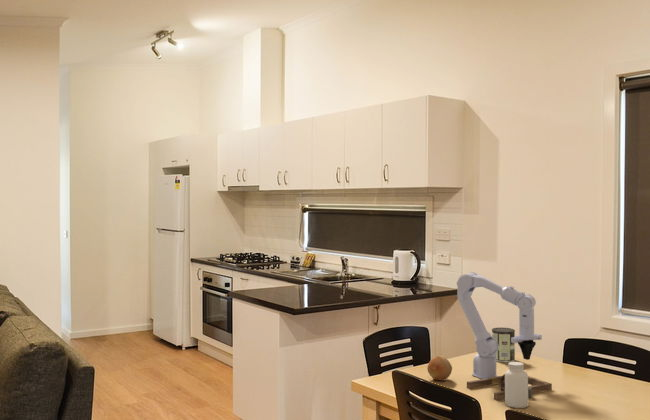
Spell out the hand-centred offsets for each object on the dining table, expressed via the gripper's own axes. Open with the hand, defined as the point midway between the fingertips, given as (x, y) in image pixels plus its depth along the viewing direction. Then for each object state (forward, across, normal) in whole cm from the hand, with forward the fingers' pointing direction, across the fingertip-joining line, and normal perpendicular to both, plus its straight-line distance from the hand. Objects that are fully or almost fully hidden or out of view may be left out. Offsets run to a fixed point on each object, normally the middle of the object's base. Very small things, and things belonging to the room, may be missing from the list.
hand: (526, 359), depth 246 cm
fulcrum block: (+10, -12, -12) cm, 20 cm away
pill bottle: (+10, -22, -18) cm, 31 cm away
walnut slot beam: (+10, -12, -2) cm, 16 cm away
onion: (+10, -28, +20) cm, 36 cm away
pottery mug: (+10, -11, -4) cm, 15 cm away
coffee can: (+10, +18, +33) cm, 39 cm away
